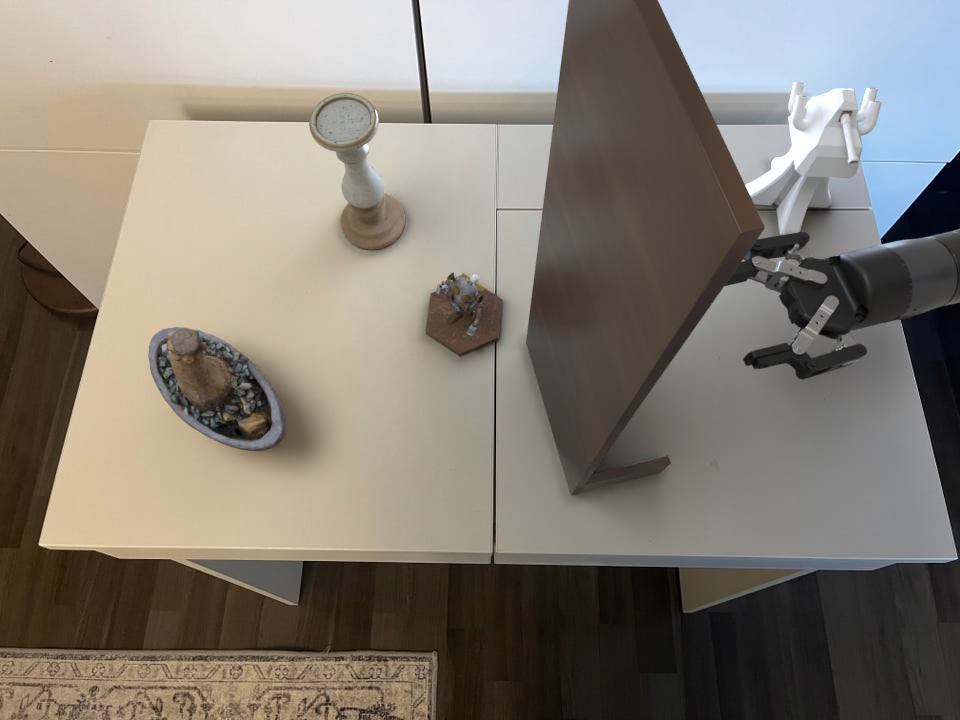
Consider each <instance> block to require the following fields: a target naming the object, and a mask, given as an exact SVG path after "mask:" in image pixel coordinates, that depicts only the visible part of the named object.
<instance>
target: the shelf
mask: <svg viewBox="0 0 960 720" xmlns="http://www.w3.org/2000/svg"><path fill="white" fill-rule="evenodd" d="M560 59H561V60H560V69H559V76H558V84H557V91H556V100H555V108H554V115H553V125H552V131H551V139H550V147H549V153H548V154H549V155H548V163H547V171H546V179H545V188H544V195H543V204H542V211H541V219H540V227H539V234H538V241H537V242H538V244H537V251H536V260H535V265H534V266H535V267H534V274H533V283H532V290H531V297H530V299H531V300H530V306H529V314H528V321H527V331H526V339H525V344H526V348H527V350H528V354H529V357H530V361H531V364H532V368H533V372H534V375H535V378H536V381H537V386H538V388H539V391H540V396H541V398H542V399H541V400H542V402H543V405H544V406H543V407H544V409H545V413H546V416H547V419H548V422H549V426H550V429H551V433H552V436H553V440H554V443H555V446H556V450H557V453H558V457H559V460H560V464H561V467H562V470H563V474H564V477H565V481H566V483H567V488H568V492H569V494H570V496H573V495H577V494H581V493H586V492H589V491H593V490H597V489H601V488H605V487H609V486H613V485H617V484H621V483H626V482H630V481H634V480H637V479H641V478H645V477H649V476H654V475H656V474H657V475H658V474H661V473H662V472H663V471H664V470H666V468H668V467H669V466H670V465H671V464H672V462H671V459H670V456H669V455H668V454H667V455H662V456H658V457H655V458H651V459H647V460H643V461H639V462H634V463H631V464H630V463H629V464H626V465H623V466H618V467H614V468H610V469H606V470H603V471H598V472H595V471H596V470H597V468H598V466H599V465H600V464H601V462H603V460H604V458H605V457H606V456H607V454H608V452H609V450H611V448H612V447H613V446H614V444H615V442H616V441H617V439H618V438H619V437H620V435H621V434H622V433H623V431H624V429H625V428H627V425H628V424H629V422H630V421H631V419H632V418H633V417H634V416H635V414H636V413H637V411H638V409H640V407H641V406H642V404H643V402H644V401H645V400H646V398H647V397H648V395H649V394H650V393H651V391H652V390H653V388H654V387H655V385H656V384H657V383H658V381H659V380H660V378H661V377H662V375H663V374H664V373H665V371H666V370H667V368H668V367H669V366H670V365H671V363H672V361H673V360H674V358H675V357H676V356H677V355H678V353H679V351H680V350H681V349H682V347H683V346H684V344H685V343H686V342H687V340H688V339H689V337H690V336H691V334H692V333H693V331H694V330H695V328H696V327H697V326H698V324H699V323H700V321H701V320H702V318H703V317H704V316H705V314H706V313H707V312H708V310H709V309H710V307H711V306H712V305H713V303H714V302H715V301H716V299H717V297H718V296H719V295H720V293H721V291H722V290H723V289H724V287H726V286H725V284H726V283H727V282H728V280H729V279H730V277H731V276H732V275H733V273H734V272H735V270H736V269H737V267H738V266H739V265H740V263H741V262H743V260H744V257H745V256H746V255H747V253H748V252H749V250H750V249H751V247H752V246H753V245H754V243H755V242H756V240H757V239H760V237H761V235H762V234H763V232H764V230H765V229H766V226H765V224H764V222H763V220H762V217H761V215H760V213H759V211H758V208H757V207H756V205H754V203H753V201H752V199H751V196H750V194H749V192H748V190H747V188H746V186H745V185H746V184H745V181H744V180H743V177H742V175H741V172H740V171H739V169H738V167H737V164H736V163H735V161H734V159H733V156H732V155H731V152H730V150H729V148H728V145H727V143H726V141H725V139H724V137H723V136H722V135H723V134H722V133H721V131H720V128H719V127H718V125H717V122H716V121H715V118H714V116H713V114H712V112H711V110H710V108H709V105H708V103H707V102H706V99H705V97H704V95H703V93H702V91H701V88H700V86H699V84H698V82H697V80H696V78H695V76H694V74H693V72H692V70H691V69H692V68H691V67H690V65H689V63H688V61H687V59H686V56H685V54H684V52H683V50H682V48H681V46H680V44H679V42H678V40H677V38H676V36H675V34H674V32H673V29H672V27H671V25H670V23H669V20H668V19H667V17H666V14H665V12H664V10H663V8H662V6H661V4H660V2H659V0H568V4H567V12H566V20H565V27H564V36H563V44H562V53H561V58H560ZM594 472H595V473H594Z"/></svg>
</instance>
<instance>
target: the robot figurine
mask: <svg viewBox="0 0 960 720" xmlns="http://www.w3.org/2000/svg"><path fill="white" fill-rule="evenodd" d="M478 282H479V276H478V275H477V274H472V275H470V276H468V275H467V274H466V273H464V272H462V274H460V275H459V276H455V272H451V273H450V274H448V276H447V277H446V280H442V281H441V282H440V283H439V284H437V287H436V289H435V291H433V292H430V296H429V304H428V310H427V318H426V322H425V323H426V324H425V334H426V335H427V336H428V337H430V338H431V339H432V340H434V341H436V342H437V343H439V344H440V345H442V346H443V347H444V348H446V349H447V350H449V351H451V352H452V353H453V354H455V355H457V356H458V357H462V356H465V355H467V354H470V353H472V352H474V351H476V350H479V349H481V348H484V347H486V346H488V345H491V344H493V343H496V342H498V341H499V338H500V329H501V318H502V307H503V299H502V298H501V297H499V296H498V295H497V294H495V293H493V292H491V291H490V290H488V289H487V288H486V287H484V286H482V285H481V284H479V283H478ZM443 286H445V287H443Z"/></svg>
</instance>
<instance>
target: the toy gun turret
mask: <svg viewBox="0 0 960 720" xmlns="http://www.w3.org/2000/svg"><path fill="white" fill-rule="evenodd" d="M805 86H806V82H793V85H792V89H791V93H790V97H789V101H788V112H789V114H790V115H789V116H788V118H787V119H788V126H789V134H790V141H791V147H790V149H789V151H788V152H787V153H786V154H785V155H783V156H781V157H775V158H773V159H772V161H771V163H770V165H771V166H770V167H771V169H770V170H768V171H767V172H766V173H764V174H762V176H760V177H758V178H756V179H754V180H752V181H751V182H749V183H746V184H745V186H746V188H747V190H748V192H749V194H750V196H751V199H752V201H753V203H754V205H755V206H756V205H757V206H772V207H773V208H774V209H776V216H777V224H778V231H779V233H778V234H779V236H780V235H786V234H792V233H798V232H801V230H802V226H803V222H804V220H805V216H806V214H807V210H808V208H821V209H822V208H823V209H827V208H828V207H830V205H831V204H832V195H831V190H830V187H829V181H830V179H831V178H832V179H833V178H834V179H835V178H836V179H852V177H853V176H854V175H856V174H857V172H858V168H859V164H860V159H861V156H862V152H863V147H864V146H863V141H862V137H864V136H866V135H869V133H871V132H872V131H873V130H874V128H875V127H876V125H877V122H878V118H879V114H880V112H881V111H880V110H881V108H882V107H881V106H882V103H883V101H877V99H876V98H877V96H878V92H879V88H878V87H866V89H865V92H864V96H863V100H862V104H861V107H860V110H859V107H858V102H857V95H856V91H855V88H832V89H831V90H829V91H827V92H825V93H822V94H819V95H814V96H812V97H811V98H810V99H809V100H808V98H809V96H807V95H803V93H804V89H805ZM861 122H863V124H859V123H861Z"/></svg>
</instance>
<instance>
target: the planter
mask: <svg viewBox="0 0 960 720" xmlns="http://www.w3.org/2000/svg"><path fill="white" fill-rule="evenodd" d="M147 355H148V361H149V363H148V364H149V371H150V374H151V377H152V380H153V381H154V383H155V385H156V387H157V390H158V391H159V393H160V395H161V396H162V398H163V399H164V401H165V402H166V403H167V405H168V406H169V407H170V408H171V410H172V411H173V412H174V414H175V415H177V417H179V418H180V419H181V421H183V422H184V423H185V424H187V425H188V426H189V427H190V428H192V429H194V430H195V431H197V432H199V433H201V434H202V435H204V436H205V437H207V438H208V439H211V440H213V441H214V442H216V443H217V442H218V443H219V444H221V445H224V446H227V447H230V448H232V449H237V450H241V451H247V452H265V451H268V450H271V449H274V448H275V447H277V446H278V445H280V444H281V443H282V441H283V440H284V438H285V436H286V432H287V419H286V414H285V410H284V407H283V404H282V402H281V399H280V398H279V396H278V394H277V393H276V390H275V389H274V388H273V386H272V385H271V383H270V382H269V380H268V379H267V378H266V376H265V375H264V373H262V371H261V370H260V369H259V368H258V367H257V365H256V364H255V363H254V362H253V361H252V360H250V358H248V356H246V355H245V354H244V353H243V352H241V351H240V350H239V349H238V348H237V349H236V348H235V347H234V346H233V345H231V344H230V343H229V342H227V341H226V340H224V339H222V338H220V337H217V336H215V335H214V334H211V333H206V332H204V331H202V330H200V329H195V328H188V327H184V326H183V327H180V326H175V327H168V328H163V329H160V330H159V331H158V332H156V333H155V334H154V335H152V337H151V339H150V341H149V345H148V354H147Z"/></svg>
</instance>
